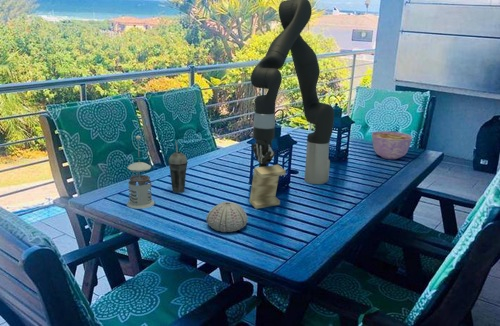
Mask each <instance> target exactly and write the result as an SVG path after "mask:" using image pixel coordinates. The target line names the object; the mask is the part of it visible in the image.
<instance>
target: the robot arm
mask: <svg viewBox="0 0 500 326" xmlns="http://www.w3.org/2000/svg"><path fill="white" fill-rule="evenodd" d="M278 16H279V21H280V24H281V26H282V29H283V31H281V32H280V33H279V34H278V35H277V36H276V37H275V38H274V39H273V40H272V41H271V44H270V45H269V47H268V49H267V51H266V54H265V56H264V57H262V59H261V60H260V61H258V63H257V65H255V67H254V68H253V70H252V71H251V74H250V83H251V84H252V87H254V88H257V89H265V90H267V92H266V94H261V95H260V94H259V95H258V96H256V97H255V100H254V102H255V103H254V105H255V106H254V116H253V136H252V137H253V139H254V140H255V143H254V144H252V145H251V146H252V151H253V153H254V156H255V160H256V161H257V162H258V164H259V165H258V167H264V166H268V165H267V164H268V163H271V162H272V160H273V158H274V157H275V155H276V151H275V150H273V146H272V141H273V140H274V139H275V138H276V137H275V136H276V135H275V133H276V101H277V97H278V94H279V91H280V87H281V85H282V80H283V76H282V73H281V71H280V69H281V68H282V67H284V64H285V62H286V60H287V58H288V55H289V53H291V59H292V62H293V65H294V66H293V67H294V70H295V74H296V78H297V82H298V86H299V90H300V93H301V100H302V107H303V114H304V117H305V120H306V121H307V122H308V123H310V124H312V125H315V127H314V132H310V133H308V134H307V138H306V150H305V151H306V152H305V155H306V156H305V171H304V182H306V183H308V184H310V185H311V184H312V185H322V184H326V183H327V182H329V180H330V177H329V175H330V166H331V165H330V164H331V160H330V159H329V156H330V155H329V151H330V141H331V137H332V134H333V131H334V130H333V128H334V120H335V110H334V108H333V106H332V105H331V104H328V103H324V102H321V101H320V100H319V97H318V92H317V87H318V86H317V85H318V81H319V78H320V73H321V72H320V65H319V61H318V56H317V54H316V52H315V51H314V49H313V48H312V47H311V46H310V45H309V44H308V43H307V42H306V41H305V39H304V38H303V37H302V35H301V33H302V32H303V30H304V29H305V28H306V26H307V25H308V23H309V21H310V20H311V17H312V5H311V2H310V0H283V1H281V2H280V4H279V5H278Z"/></svg>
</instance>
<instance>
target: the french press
mask: <svg viewBox="0 0 500 326" xmlns="http://www.w3.org/2000/svg"><path fill="white" fill-rule="evenodd" d="M141 139H142V137H141V136H140V135H136V136H135V140H137V148H138V149H137V150H138V151H137V152H138V156H140V141H139V140H141ZM151 168H152V165H150V164H148V163H146V162H142V161H137V162H133V163H130V164H129V165H128V166H127V170H129V171H131V172H134V173H136V175H134V174H133V175H132V176H130V177H129V179H128V180H129V181H128V200H129V201H128V202H126V206H127V208H128V207H129V208H131V209H138V210H139V209H140V210H141V209H147V208H151V207H153V206H155V201H154V200H153V199H152V180H151V176H149V175H145V174H141V173H140V172H146V171H149V170H150V169H151Z"/></svg>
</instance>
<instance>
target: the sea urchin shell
mask: <svg viewBox="0 0 500 326" xmlns="http://www.w3.org/2000/svg"><path fill="white" fill-rule="evenodd" d="M205 221H206V223H207V225H208V226H209V227H211V229H214V231H217V232H222V233H227V232H228V233H232V232H237V231H238V230H239V231H240V230H241V229H243V228H244V227H246V225H247V223H248V221H249V220H248V215H247V213H246V211H245V210H244V208H242V206H241V205H240V204H238V203H235V202H231V201H230V202H229V201H223V202H220V203H218V204H216V205H215V206H213V208H211V210H209V212H208V214H206V219H205Z"/></svg>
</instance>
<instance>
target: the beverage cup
mask: <svg viewBox="0 0 500 326" xmlns="http://www.w3.org/2000/svg"><path fill="white" fill-rule="evenodd" d="M175 151H176V152H173V153H172V154H171V155H170V157H169V158H168V167H169V171H170V181H171V188H172V189H171V190H172V193H174V194H183V193H184V192H185V188H186V187H185V186H186V178H187V177H186V176H187V175H186V174H187V167H188V164H189V163H188V158H187V156H186V155H185V154H184V153H183V152H180V151H178V141H175Z"/></svg>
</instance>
